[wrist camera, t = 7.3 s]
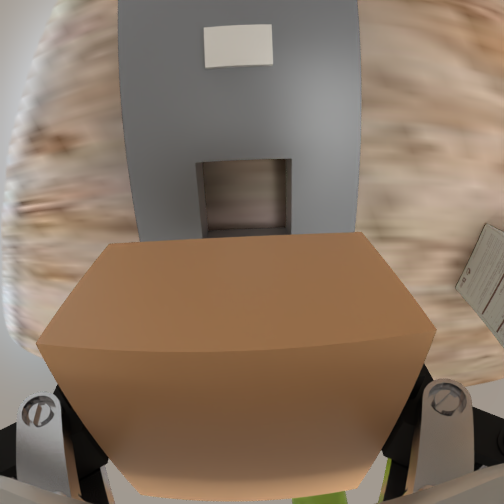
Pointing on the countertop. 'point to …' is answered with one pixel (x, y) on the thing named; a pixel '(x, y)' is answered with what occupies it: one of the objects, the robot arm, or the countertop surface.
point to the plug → (239, 362)
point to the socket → (240, 107)
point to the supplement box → (486, 280)
